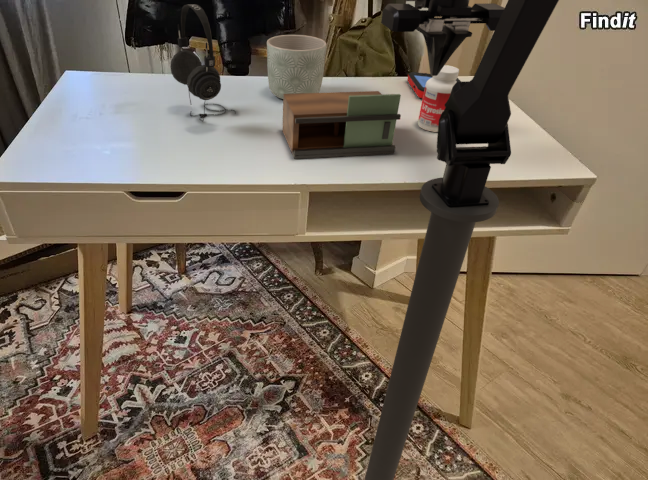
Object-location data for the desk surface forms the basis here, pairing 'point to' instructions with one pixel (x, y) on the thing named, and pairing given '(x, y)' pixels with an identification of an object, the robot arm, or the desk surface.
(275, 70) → the planter
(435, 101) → the pill bottle
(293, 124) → the cabinet
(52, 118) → the desk surface
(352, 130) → the sliding door
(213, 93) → the headphones
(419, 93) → the game console
